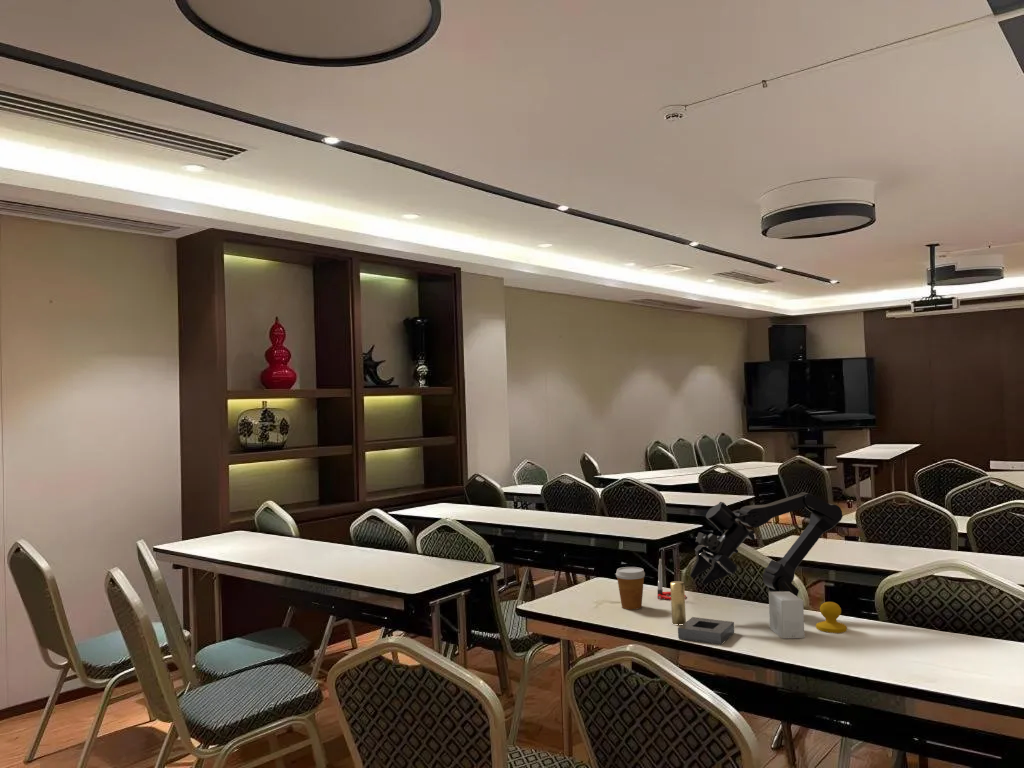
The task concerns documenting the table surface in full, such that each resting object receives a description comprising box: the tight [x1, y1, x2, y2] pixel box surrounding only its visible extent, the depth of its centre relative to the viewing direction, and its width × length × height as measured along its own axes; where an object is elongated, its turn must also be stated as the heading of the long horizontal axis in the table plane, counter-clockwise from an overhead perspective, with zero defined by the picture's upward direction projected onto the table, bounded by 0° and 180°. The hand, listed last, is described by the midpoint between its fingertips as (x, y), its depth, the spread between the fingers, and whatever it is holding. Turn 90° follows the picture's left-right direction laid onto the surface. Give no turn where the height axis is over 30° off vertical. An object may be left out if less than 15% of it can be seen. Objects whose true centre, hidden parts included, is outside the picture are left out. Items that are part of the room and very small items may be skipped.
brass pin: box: [669, 580, 687, 626], centre depth 225 cm, size 4×4×12 cm
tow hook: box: [657, 558, 687, 601], centre depth 255 cm, size 8×13×9 cm
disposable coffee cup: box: [615, 566, 646, 611], centre depth 245 cm, size 10×10×12 cm
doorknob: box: [815, 601, 848, 634], centre depth 214 cm, size 8×8×8 cm
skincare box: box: [768, 591, 805, 640], centre depth 212 cm, size 10×6×10 cm, turn 0°
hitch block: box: [677, 616, 735, 646], centre depth 212 cm, size 12×12×3 cm
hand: (697, 580), depth 226 cm, fingers open, 9 cm apart
